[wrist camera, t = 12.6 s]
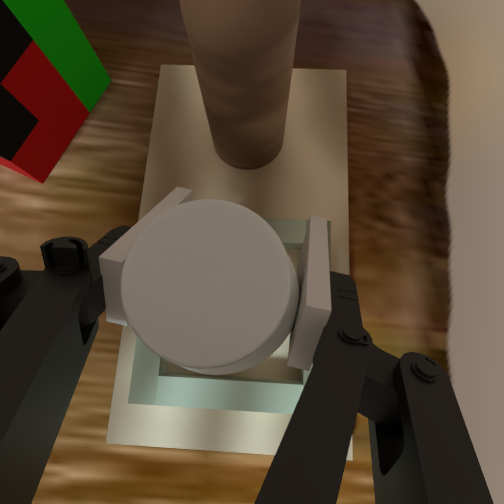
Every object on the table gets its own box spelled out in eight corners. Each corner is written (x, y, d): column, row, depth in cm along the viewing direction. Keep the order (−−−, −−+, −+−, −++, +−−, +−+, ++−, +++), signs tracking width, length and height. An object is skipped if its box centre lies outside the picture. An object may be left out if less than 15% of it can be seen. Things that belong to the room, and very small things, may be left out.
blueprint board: (116, 435, 20) (-65, 568, 9) (166, 79, 26) (97, -110, 15) (345, 450, 19) (462, 612, 8) (341, 84, 26) (405, -106, 14)
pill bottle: (251, 380, 17) (241, 443, 8) (163, 324, 18) (54, 316, 8) (302, 289, 18) (350, 244, 9) (218, 240, 19) (176, 149, 10)
